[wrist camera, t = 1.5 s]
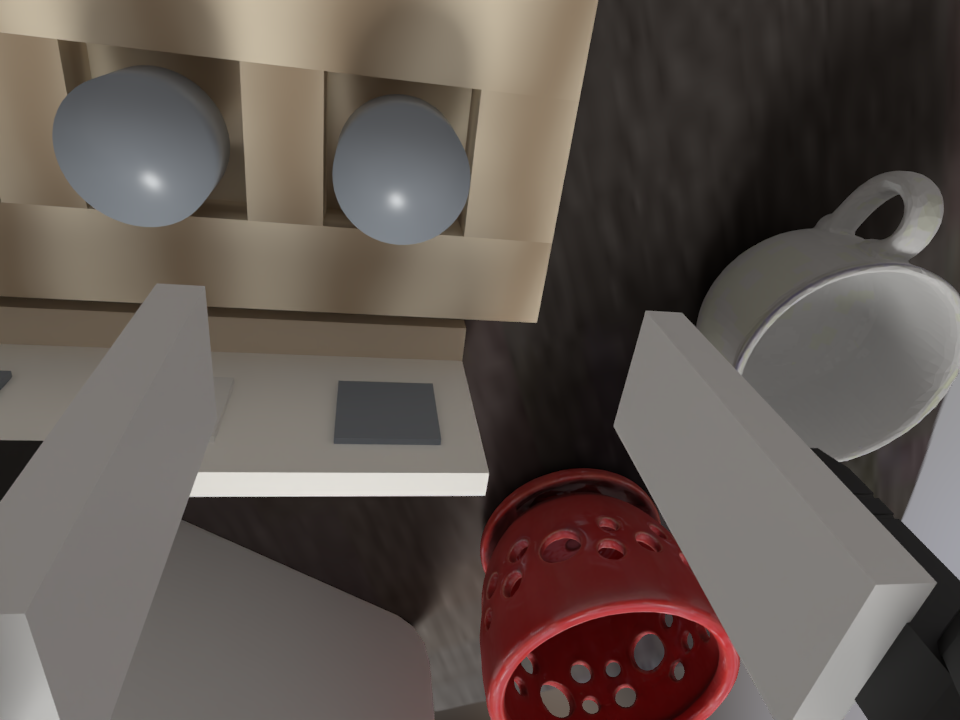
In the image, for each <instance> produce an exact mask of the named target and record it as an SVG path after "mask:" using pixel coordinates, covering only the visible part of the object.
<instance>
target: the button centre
mask: <svg viewBox="0 0 960 720" xmlns="http://www.w3.org/2000/svg"><path fill="white" fill-rule="evenodd" d="M52 139H53V147H54V152H55V155H56V159H57V161H58V164H59V166H60V169H61V171H62V172H63V174H64V176H65V178H66V179H67V181H68V182H69V184H70V185H71V186H72V188H73V189H74V190H75V191H76V192H77V193H78V195H79V196H80V197H82V198H83V199H84V200H85V201H86V202H87V203H88V204H90V205H91V206H92V207H93V208H95V209H96V210H98V211H99V212H101V213H103V214H104V215H106V216H108V217H110V218H112V219H115V220H117V221H120V222H123V223H126V224H130V225H134V226H141V227H161V226H167V225H171V224H174V223H177V222H179V221H182V220H184V219H185V218H187V217H189V216H190V215H191V214H193V213H194V212H195V211H196V210H197V209H198V208H199V207H200V206H201V205H202V204H203V202H204V201H205V200H206V198H207V197H208V196H209V195H210V193H211V192H212V191H213V189H214V188H215V187H216V185H217V184H218V183H219V181H220V180H221V178H222V177H223V175H224V173H225V171H226V169H227V166H228V162H229V157H230V139H229V133H228V130H227V126H226V123H225V121H224V118H223V116H222V114H221V113H220V111H219V109H218V107H217V106H216V105H215V103H214V102H213V100H212V99H211V98H210V97H209V96H208V95H207V93H206V92H205V91H203V90H202V89H201V88H200V87H199V86H198V85H197V84H195V83H194V82H193V81H191V80H190V79H188V78H186V77H185V76H183V75H181V74H179V73H177V72H174V71H172V70H169V69H166V68H163V67H157V66H150V65H138V66H131V67H126V68H123V69H120V70H117V71H114V72H111V73H108V74H105V75H102V76H99V77H96V78H93V79H91V80H88V81H86V82H84V83H82V84H80V85H79V86H77V87H75V88H74V89H73V90H72V91H71V92H70V93H69V94H68V95H67V96H66V97H65V98H64V100H63V101H62V102H61V104H60V106H59V108H58V110H57V112H56V115H55V118H54V123H53V134H52Z"/></svg>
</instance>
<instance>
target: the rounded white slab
mask: <svg viewBox="0 0 960 720" xmlns="http://www.w3.org/2000/svg"><path fill="white" fill-rule="evenodd" d="M110 720H435V718H434V706H433V695H432V683H431V672H430V661H429V658H428V654H427V651H426V647H425V644H424V642H423V640H422V639H421V637H420V636H419V634H418V633H417V632H416V630H415V629H414V627H413V626H412V625H410V624H409V623H407V622H406V621H405V620H403V619H402V618H401V617H399V616H398V615H395V614H393V613H391V612H389V611H386V610H384V609H382V608H380V607H377V606H375V605H373V604H371V603H368V602H366V601H364V600H362V599H359V598H357V597H355V596H353V595H350V594H348V593H346V592H344V591H341V590H339V589H337V588H335V587H332V586H330V585H328V584H326V583H323V582H321V581H319V580H317V579H314V578H312V577H310V576H308V575H305V574H303V573H301V572H299V571H296V570H294V569H292V568H290V567H287V566H285V565H283V564H281V563H278V562H276V561H274V560H272V559H269V558H267V557H265V556H262V555H260V554H258V553H256V552H253V551H251V550H249V549H247V548H244V547H242V546H240V545H238V544H235V543H233V542H231V541H229V540H226V539H224V538H222V537H220V536H217V535H215V534H213V533H211V532H208V531H206V530H204V529H202V528H199V527H197V526H195V525H193V524H190V523H188V522H186V521H184V520H181V522H180V524H179V527H178V530H177V533H176V536H175V538H174V541H173V544H172V547H171V550H170V553H169V555H168V558H167V561H166V564H165V567H164V569H163V572H162V575H161V578H160V581H159V584H158V586H157V589H156V592H155V595H154V598H153V600H152V603H151V606H150V609H149V612H148V615H147V617H146V620H145V623H144V626H143V629H142V631H141V634H140V637H139V640H138V643H137V646H136V648H135V651H134V654H133V657H132V660H131V662H130V665H129V668H128V671H127V674H126V677H125V679H124V682H123V685H122V688H121V691H120V693H119V696H118V699H117V702H116V705H115V708H114V710H113V713H112V716H111V719H110Z"/></svg>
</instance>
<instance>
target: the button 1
mask: <svg viewBox="0 0 960 720" xmlns="http://www.w3.org/2000/svg"><path fill="white" fill-rule="evenodd" d="M332 176H333V186H334V191H335V194H336V198H337V200H338V203H339V205H340V207H341V209H342V210H343V212H344V213H345V215H346V216H347V218H348V219H349V220H350V221H351V222H352V223H353V224H354V225H355V226H356V227H357V228H358V229H359V230H361V231H362V232H363V233H365V234H366V235H368V236H370V237H372V238H374V239H376V240H379V241H381V242H385V243H389V244H395V245H411V244H417V243H421V242H425V241H427V240H430V239H432V238H434V237H436V236H438V235H439V234H441V233H442V232H444V231H445V230H446V229H447V228H448V227H450V226H451V225H452V224H453V222H454V221H455V220H456V219H457V218H458V216H459V214H460V213H461V211H462V210H463V207H464V205H465V203H466V200H467V197H468V194H469V188H470V166H469V162H468V158H467V155H466V152H465V149H464V147H463V145H462V143H461V142H460V140H459V138H458V136H457V134H456V133H455V131H454V129H453V127H452V126H451V124H450V123H449V121H448V120H447V119H446V117H445V116H444V115H443V114H442V113H441V112H440V111H439V110H438V109H437V108H435V107H434V106H432V105H431V104H429V103H428V102H426V101H424V100H422V99H420V98H417V97H414V96H409V95H404V94H391V95H384V96H380V97H377V98H374V99H372V100H370V101H368V102H366V103H364V104H363V105H361V106H360V107H359V108H358V109H356V110H355V111H354V112H353V113H352V115H351V116H350V117H349V118H348V120H347V121H346V123H345V124H344V126H343V128H342V130H341V133H340V136H339V139H338V144H337V148H336V153H335V158H334V162H333V172H332Z"/></svg>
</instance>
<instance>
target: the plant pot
mask: <svg viewBox="0 0 960 720" xmlns="http://www.w3.org/2000/svg"><path fill="white" fill-rule="evenodd" d="M480 556H481V562H482V566H483V569H484V571H485V573H486V575H485V579H484V584H483V590H482V618H481V628H480V648H481V659H482V675H483V683H484V689H485V695H486V702H487V708H488V712H489V715H490V718H491V720H705V719H707V718H708V717H709V716H710V715H711V714H712V713H713V712H714V711H715V710H716V709H717V708H718V707H719V706H720V704H721V703H722V702H723V701H724V699H725V698H726V697H727V695H728V694H729V692H730V691H731V689H732V687H733V685H734V683H735V681H736V678H737V675H738V671H739V667H740V657H739V655H738V653H737V651H736V650H735V648H734V646H733V644H732V642H731V640H730V639H729V637H728V635H727V633H726V631H725V629H724V628H723V626H722V624H721V622H720V620H719V619H718V617H717V615H716V613H715V611H714V609H713V608H712V606H711V604H710V602H709V600H708V598H707V597H706V595H705V593H704V591H703V589H702V587H701V586H700V584H699V582H698V580H697V578H696V576H695V575H694V573H693V571H692V569H691V567H690V565H689V564H688V562H687V560H686V558H685V556H684V555H683V553H682V551H681V549H680V547H679V545H678V544H677V542H676V540H675V538H674V537H673V535H672V534H671V533H670V532H669V531H667V530H666V529H665V528H664V527H663V526H662V525H661V523H660V518H659V514H658V511H657V509H656V507H655V505H654V503H653V501H652V500H651V499H650V497H649V496H648V495H647V494H646V492H645V491H644V490H643V489H642V488H641V487H639V486H638V485H637V484H636V483H634V482H633V481H631V480H629V479H627V478H626V477H624V476H621V475H619V474H616V473H613V472H609V471H605V470H600V469H592V468H576V469H567V470H561V471H557V472H553V473H549V474H546V475H543V476H541V477H538V478H536V479H533V480H531V481H529V482H527V483H526V484H524V485H522V486H521V487H519V488H518V489H516V490H515V491H514V492H513V493H511V494H510V495H509V496H508V497H506V498H505V499H504V500H503V502H502V503H501V504H500V505H499V506H498V507H497V508H496V510H495V511H494V512H493V514H492V515H491V517H490V518H489V520H488V522H487V524H486V526H485V528H484V531H483V534H482V539H481V545H480ZM665 614H671V615H672V616H673V623H672V625H671V627H667V625H666V623H665ZM705 628H707V629H708V630H709V631H710V638H709V636H708V634H707V632H706V629H705ZM689 632H690V633H691V635H692V638H693V647H692V649H691V650H690V649H689V647H688V644H687V637H688V634H689ZM646 634H655V635H657V636H658V637H659V639H660V640H661V642H662V643H663V646H664V650H665V654H664V658H663V660H662V661H661V663H660V664H659V665H658V666H657V667H656V668H655V669H653V670H650V671H645V670H642V669H640V668H639V667H638V665H637V664H636V662H635V659H634V649H635V646H636V644H637V642H638V641H639V640H640V639H641V638H642V637H643V636H644V635H646ZM526 656H527V657H528V658H529V660H530V661H531V663H532V666H533V673H532V674H530V673H528V672H526V671H525V669H524V668H523V667H522V665H521V662H522V660H523V659H524V658H525V657H526ZM611 662H616V663H618V664H619V665H620V668H621V672H620V674H619V675H618V676H616V677H610V676H608V675H607V673H606V666H607V665H608V664H609V663H611ZM679 662H681V663H682V664H683V666H684V670H685V673H684V676H683V678H682V679H680V680H677V679H676V678H675V676H674V669H675V666H676V664H677V663H679ZM576 664H580V665H583V666H585V667H587V668H588V670H589V671H590V674H591V679H590V680H589V681H588V682H586V683H578V682H576V681H575V680H574V679H573V678H572V676H571V668H572V666H574V665H576ZM514 681H515V682H516V683H517V685H518V687H519V689H520V694H521V695H520V694H519V693H518V691H517V690H516V688H515V686H514ZM542 685H551V686H554V687H556V688H558V689H559V690H560V691H562V692H563V694H564V695H565V696H566V698H567V700H568V702H569V706H570V712H569V716H567V717H564V718H559V717H556V716H554V715H552V714H551V713H550V712H549V711H548V710H547V708H546V706H545V705H544V704H543V702H542V698H541V696H540V690H541V687H542ZM626 687H628V688H631V689H633V690H634V691H635V693H636V700H635V702H634V704H633V705H632V706H630V707H626V708H625V707H621V706H619V705H618V704H617V703H616V701H615V696H616V693H617V692H618V691H619V690H620V689H622V688H626ZM585 700H592V701H594V702H596V703H597V705H598V708H599V710H598V712H597V713H595V714H590V713H587V712H586V711H585V710H584V709H583V707H582V703H583V701H585Z"/></svg>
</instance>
